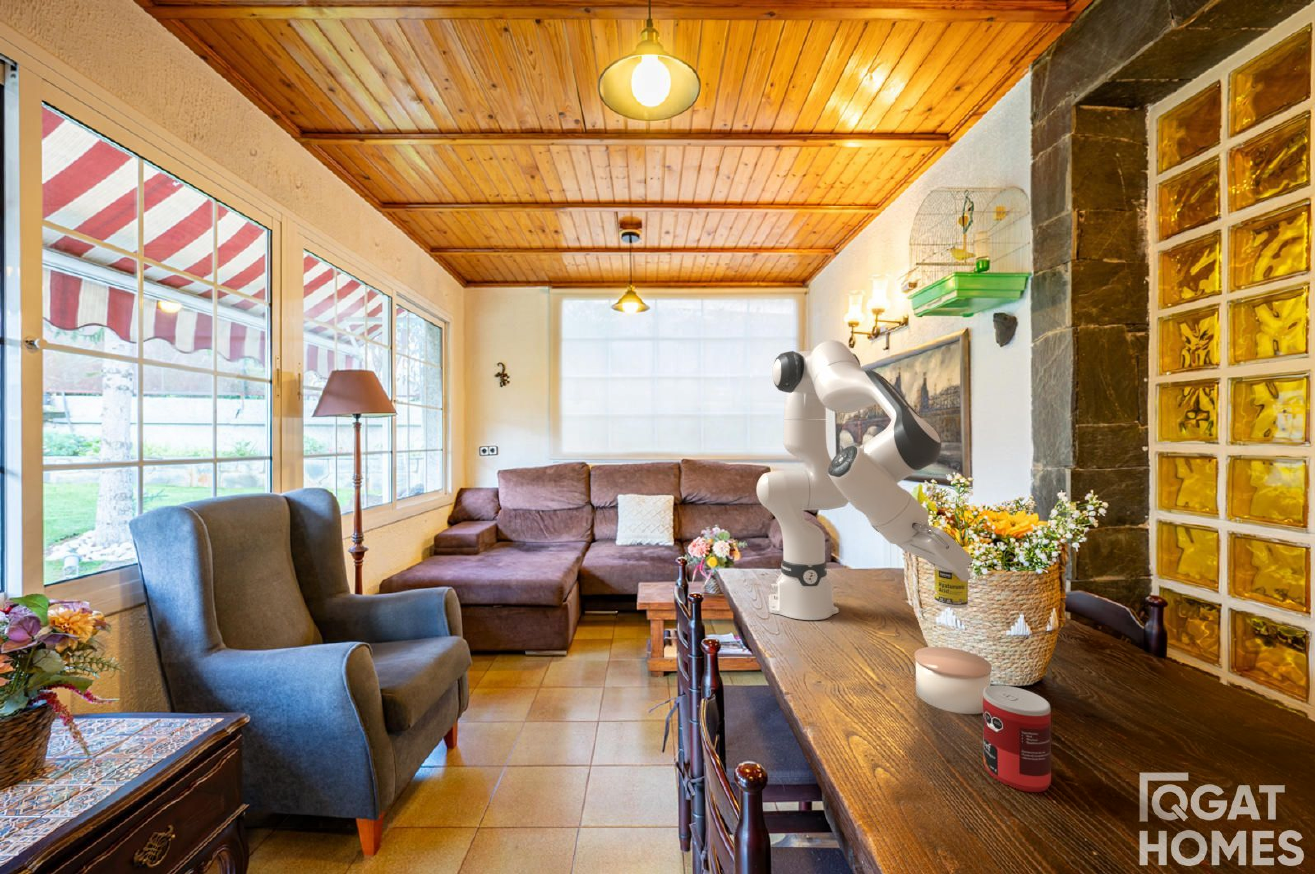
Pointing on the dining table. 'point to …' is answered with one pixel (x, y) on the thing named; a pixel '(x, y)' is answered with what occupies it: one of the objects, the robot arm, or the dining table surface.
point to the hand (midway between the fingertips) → (954, 573)
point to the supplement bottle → (950, 589)
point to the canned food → (1017, 737)
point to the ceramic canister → (952, 679)
